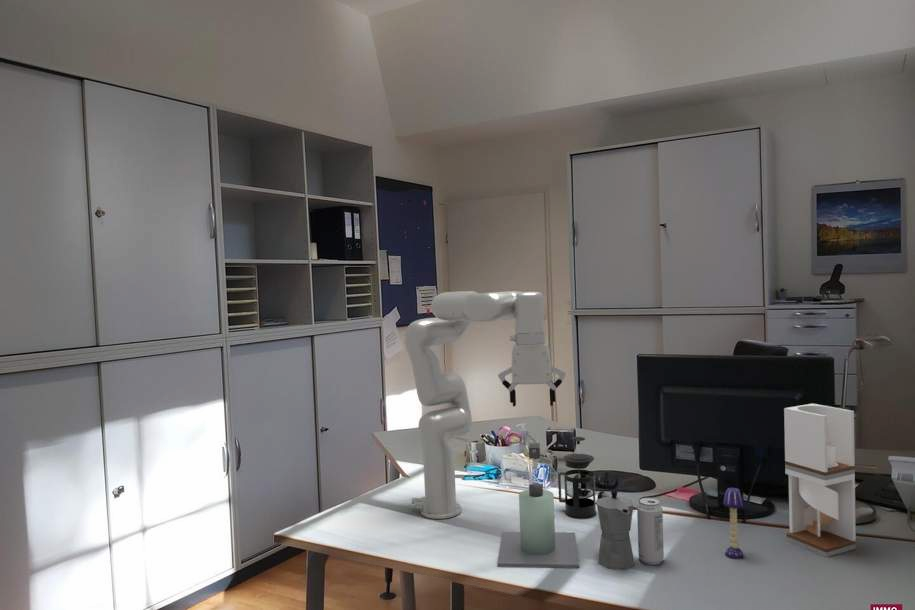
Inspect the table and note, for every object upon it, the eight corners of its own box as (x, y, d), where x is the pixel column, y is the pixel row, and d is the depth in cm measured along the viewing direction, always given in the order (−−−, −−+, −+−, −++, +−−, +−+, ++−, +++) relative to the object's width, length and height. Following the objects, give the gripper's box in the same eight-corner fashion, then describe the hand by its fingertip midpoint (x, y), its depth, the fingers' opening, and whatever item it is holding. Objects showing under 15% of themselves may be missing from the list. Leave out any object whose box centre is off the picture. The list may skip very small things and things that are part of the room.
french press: (602, 509, 198) (599, 435, 197) (594, 521, 190) (592, 442, 189) (564, 505, 203) (561, 432, 202) (555, 516, 195) (552, 439, 194)
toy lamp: (721, 551, 166) (720, 486, 165) (740, 550, 166) (738, 485, 165) (729, 559, 161) (727, 492, 161) (748, 558, 161) (746, 492, 161)
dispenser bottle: (497, 566, 163) (494, 498, 162) (502, 534, 182) (500, 473, 182) (578, 568, 160) (576, 498, 159) (574, 535, 180) (572, 473, 179)
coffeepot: (646, 570, 157) (644, 496, 156) (610, 576, 155) (608, 501, 154) (617, 545, 172) (615, 478, 172) (584, 550, 170) (581, 482, 169)
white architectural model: (786, 540, 171) (784, 408, 169) (815, 532, 175) (812, 403, 173) (826, 557, 160) (824, 416, 159) (855, 548, 165) (853, 411, 163)
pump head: (529, 475, 165) (528, 451, 164) (529, 465, 173) (529, 443, 172) (540, 475, 164) (539, 451, 164) (540, 465, 172) (539, 443, 172)
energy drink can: (644, 553, 167) (642, 495, 166) (667, 559, 163) (666, 499, 162) (634, 561, 162) (632, 502, 161) (658, 567, 158) (656, 507, 158)
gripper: (495, 342, 166) (498, 408, 167) (564, 340, 164) (567, 407, 165) (497, 339, 174) (500, 403, 174) (563, 337, 171) (566, 401, 172)
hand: (532, 405), depth 170 cm, fingers open, 9 cm apart
